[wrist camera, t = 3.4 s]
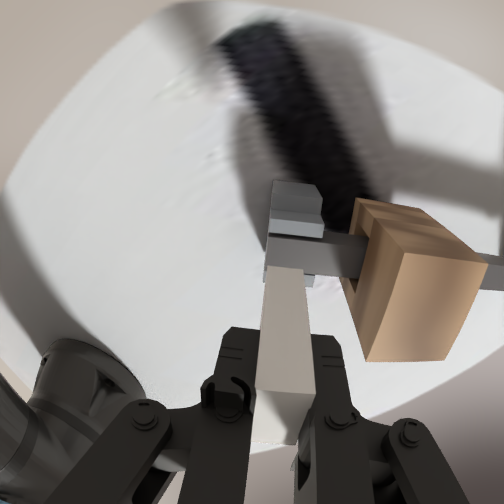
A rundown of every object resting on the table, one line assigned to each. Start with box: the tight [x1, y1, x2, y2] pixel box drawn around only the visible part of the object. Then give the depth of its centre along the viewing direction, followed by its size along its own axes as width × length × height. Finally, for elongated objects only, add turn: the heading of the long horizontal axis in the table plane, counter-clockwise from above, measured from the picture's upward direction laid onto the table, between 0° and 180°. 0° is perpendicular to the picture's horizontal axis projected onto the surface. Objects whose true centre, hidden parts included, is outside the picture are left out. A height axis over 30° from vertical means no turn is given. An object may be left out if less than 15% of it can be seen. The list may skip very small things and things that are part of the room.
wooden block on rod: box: [339, 198, 488, 362], centre depth 16 cm, size 5×6×9 cm
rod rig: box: [263, 180, 504, 291], centre depth 18 cm, size 27×6×9 cm, turn 85°
